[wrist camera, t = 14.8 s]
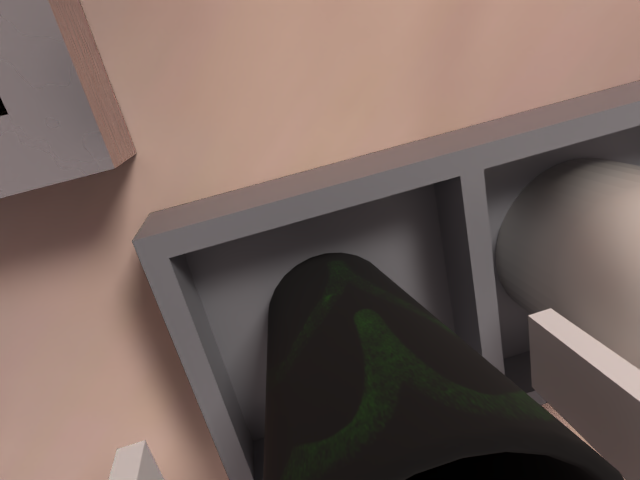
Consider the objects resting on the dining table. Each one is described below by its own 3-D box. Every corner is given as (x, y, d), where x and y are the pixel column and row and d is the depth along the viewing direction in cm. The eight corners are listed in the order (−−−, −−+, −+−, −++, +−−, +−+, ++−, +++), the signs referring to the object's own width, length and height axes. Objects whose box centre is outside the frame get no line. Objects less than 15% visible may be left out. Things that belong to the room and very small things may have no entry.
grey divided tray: (149, 213, 18) (131, 240, 15) (675, 70, 20) (761, 67, 17) (239, 446, 22) (240, 507, 19) (664, 306, 25) (731, 339, 21)
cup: (349, 411, 22) (476, 758, 10) (208, 342, 19) (175, 700, 8) (448, 283, 20) (712, 520, 9) (311, 192, 18) (444, 366, 7)
